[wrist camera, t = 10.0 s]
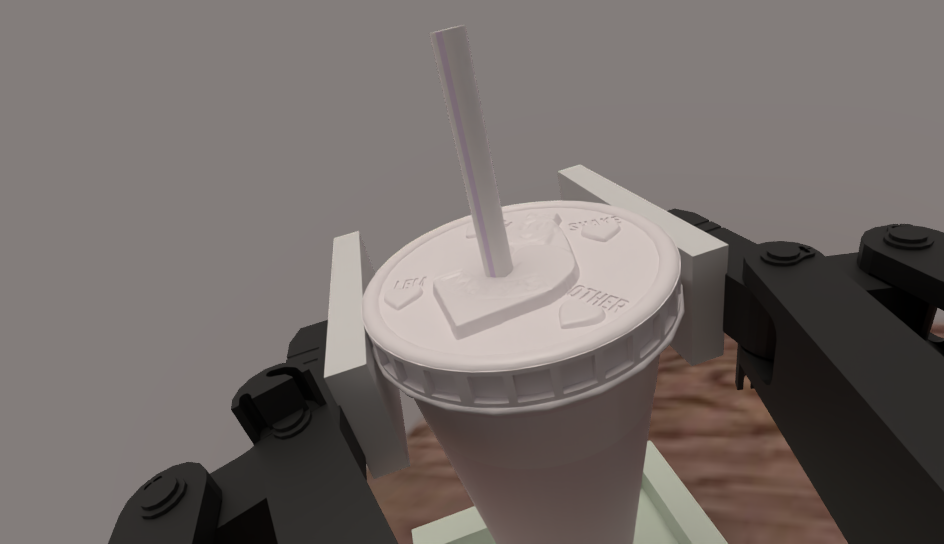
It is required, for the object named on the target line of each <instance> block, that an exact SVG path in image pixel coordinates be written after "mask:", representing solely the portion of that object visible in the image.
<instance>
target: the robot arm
mask: <svg viewBox="0 0 944 544" xmlns="http://www.w3.org/2000/svg"><path fill="white" fill-rule="evenodd" d="M558 179H559V186H560V193H561V200H562V201H584V202H593V203H602V204H606V205H611V206H615V207H620V208H624V209H626V210H629V211H632V212H634V213H637V214H639V215H642V216H644V217H646V218H647V219H649V220H650V221H652V222H654V223H655V224H657V225H659V226H660V227H661V228H662V229H663V230H664V231H666V232H667V233H668V234H669V236H670V237H671V238H672V239H673V240H674V242H675V244H676V246H677V248H678V251H679V254H680V259H681V284H682V285H683V296H684V311H685V313H684V315H683V318H682V320H681V322H680V325H679V327H678V329H677V331H676V334H675V336H674V338H673V341H672V342H671V343H670V344H669V345H670V346H671V347H672V348H673V349H674V350H676V351H677V352H678V353H679V354H680V355H681V356H682V357H683V358H684V359H685V360H686V361H687V362H688V363H689V364H690V365H691V366H693V365H696V364H699V363H702V362H705V361H707V360H710V359H713V358H716V357H719V356H722V355H723V350H724V332H725V333H726V334H727V335H728V336H730V337H731V338H732V339H734V340H735V341H736V342H737V343H738V349H737V364H736V380H735V383H736V387H737V390H742V389H743V382H744V377H745V375H747V377H748V379H749V380H750V382H751V386H750V387H751V389H753V388H755V390H756V392H757V393H758V395H759V397H760V398H761V400H762V402H763V403H764V405H765V407H766V408H767V410H768V412H769V413H770V415H771V417H772V418H773V420H774V422H775V423H776V425H777V426H778V428H779V430H780V431H781V433H782V435H783V436H784V438H785V440H786V441H787V443H788V445H789V446H790V448H791V450H792V451H793V453H794V455H795V456H796V458H797V460H798V461H799V463H800V464H801V466H802V468H803V469H804V471H805V473H806V474H807V476H808V478H809V479H810V481H811V483H812V484H813V486H814V488H815V489H816V491H817V493H818V494H819V496H820V498H821V499H822V501H823V502H824V504H825V506H826V507H827V509H828V511H829V512H830V514H831V516H832V517H833V519H834V521H835V522H836V524H837V526H838V527H839V529H840V531H841V532H842V534H843V536H844V537H845V539H846V540H847V542H848V544H944V339H943V338H941V337H938V336H936V335H934V334H932V333H930V330H931V327H932V324H933V320H934V317H935V314H936V311H937V308H940V309H941V310H943V311H944V233H943V232H940V231H937V230H933V229H929V228H925V227H919V226H913V225H910V224H900V225H898V224H892V225H887V226H881V227H875V228H873V229H870V230H868V231H866V232H865V233H864V234H863V236H862V238H861V242H860V247H859V252H858V253H849V254H841V255H834V256H826V257H825V256H824V255H823V254H822V253H820V252H819V251H817V250H815V249H814V248H812V247H810V246H807V245H803V244H800V243H795V242H784V241H777V242H765V243H761V244H756V243H754V242H751V241H750V240H748V239H746V238H744V237H742V236H740V235H738V234H736V233H733V232H732V231H730V230H728V229H726V228H721V226H720V225H718V224H716V223H714V222H709V220H708V219H706V218H704V217H701V216H700V215H698V214H696V213H693V212H688V211H683V210H679V209H672V210H669V211H665V210H663V209H661V208H660V207H658V206H656V205H654V204H652V203H650V202H649V201H647V200H645V199H643V198H641V197H639V196H637V195H636V194H634V193H632V192H630V191H628V190H626V189H624V188H623V187H621V186H619V185H617V184H615V183H613V182H611V181H610V180H608V179H606V178H604V177H602V176H600V175H599V174H597V173H595V172H593V171H591V170H589V169H587V168H586V167H584V166H581V165H577V166H574V167H570V168H567V169H564V170H560V171H558ZM374 275H375V273H374V270H373V267H372V265H371V262H370V259H369V256H368V254H367V251H366V248H365V246H364V243H363V240H362V238H361V235H360V232H359V231H356V232H353V233H350V234H346V235H343V236H340V237H336V238H334V245H333V258H332V272H331V286H330V300H329V315H328V320H326V321H323V322H320V323H317V324H314V325H310V326H307V327H304V328H301V329H300V330H299V331H298V333H297V334H296V336H295V337H294V338H293V339H292V341H291V342H290V344H289V350H288V354H287V359H288V360H286V363H282V364H278V365H275V366H273V367H270V368H267V369H265V370H263V371H262V372H260V373H258V374H257V375H255V376H254V377H252V378H251V379H249V380H248V381H247V382H246V383H245V384H244V385H243V386H242V387H241V388H240V389H239V390H238V392H237V394H236V395H235V396H234V398H233V400H232V406H231V410H232V412H233V413H234V415H235V416H236V418H237V419H238V421H239V422H240V424H241V426H242V427H243V429H244V430H245V432H246V433H247V435H248V436H249V438H250V439H251V441H252V442H253V444H254V446H253V447H252V448H251V449H250V450H249V451H247V452H246V453H244V454H243V455H241V456H240V457H238V458H237V459H235V460H233V461H231V462H229V463H228V464H226V465H224V466H223V467H221V468H219V469H217V470H216V471H214V472H212V473H211V474H209V473H208V472H207V470H206V469H205V468H204V467H203V466H202V465H201V464H200V463H193V462H186V463H183V464H179V465H175V466H172V467H170V468H169V469H167V470H164V471H163V472H161V473H159V474H157V475H156V476H154V477H153V478H152V479H151V480H148V481H147V482H146V483H145V484H144V485H143V486H141V487H140V488H139V489H138V491H136V493H135V494H134V495H133V496H132V497H131V498H130V499H129V500H128V502H127V503H126V505H125V507H124V508H123V510H122V512H121V513H120V515H119V518H118V520H117V523H116V525H115V528H114V530H113V533H112V535H111V538H110V540H109V543H108V544H398V542H397V540H396V538H395V536H394V534H393V532H392V531H391V529H390V527H389V525H388V523H387V521H386V519H385V517H384V515H383V513H382V511H381V509H380V507H379V505H378V503H377V501H376V499H375V497H374V495H373V493H372V491H371V489H370V487H369V485H368V483H367V476H366V464H367V466H368V468H369V470H370V472H371V474H372V476H373V478H374V479H375V478H378V477H381V476H384V475H386V474H389V473H392V472H395V471H398V470H401V469H403V468H406V467H409V466H410V461H409V454H408V447H407V440H406V433H405V426H404V420H403V413H402V406H401V399H400V392H399V388H398V387H396V386H395V385H394V384H393V383H391V382H390V381H389V380H388V379H386V378H385V377H384V376H383V374H382V372H381V370H380V368H379V366H378V364H377V362H376V360H375V358H374V355H373V347H372V343H371V340H370V338H369V335H368V333H367V331H366V329H365V326H364V323H363V320H362V315H361V305H362V300H363V296H364V293H365V291H366V288H367V286H368V284H369V283H370V281H371V280H372V278H373V277H374Z"/></svg>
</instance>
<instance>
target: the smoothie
mask: <svg viewBox="0 0 944 544" xmlns="http://www.w3.org/2000/svg"><path fill="white" fill-rule="evenodd" d="M429 35H430V39H431V43H432V48H433V51H434V56H435V60H436V65H437V69H438V73H439V78H440V82H441V86H442V91H443V95H444V99H445V103H446V108H447V112H448V116H449V121H450V124H451V129H452V133H453V138H454V142H455V146H456V151H457V155H458V159H459V163H460V167H461V172H462V176H463V180H464V185H465V189H466V194H467V198H468V202H469V206H470V211H471V215H469V216H466V217H463V218H461V219H458V220H455V221H452V222H450V223H447V224H444V225H442V226H440V227H438V228H436V229H434V230H432V231H430V232H428V233H425V234H424V235H422V236H421V237H419V238H417V239H416V240H414V241H412V242H410V243H409V244H407V245H406V246H404V247H403V248H402V249H401V250H399V251H398V252H397V253H396V254H394V255H393V256H391V257H390V258H389V259H388V260H387V261H386V262H385V263H384V265H383V266H382V267H381V268H380V269H379V270H378V271H377V272H376V274H375V275H374V277H373V278H372V280H371V281H370V283H369V284H368V286H367V288H366V291H365V293H364V296H363V300H362V305H361V315H362V320H363V323H364V326H365V329H366V331H367V333H368V335H369V338H370V340H371V343H372V347H373V355H374V358H375V360H376V362H377V364H378V366H379V368H380V370H381V372H382V374H383V376H384V377H385V378H386V379H388V380H389V381H390V382H391V383H393V384H394V385H395V386H396V387H398V388H399V389H400V390H402V391H403V392H404V393H405V394H406V395H408V396H409V397H411V398H414V399H415V401H416V403H417V405H418V407H419V409H420V411H421V412H422V414H423V416H424V418H425V420H426V422H427V423H428V425H429V427H430V429H431V430H432V431H433V433H434V435H435V436H436V438H437V440H438V442H439V443H440V445H441V447H442V449H443V450H444V452H445V454H446V456H447V458H448V459H449V461H450V463H451V465H452V466H453V468H454V470H455V472H456V473H457V475H458V477H459V479H460V481H461V482H462V484H463V486H464V488H465V489H466V491H467V493H468V495H469V496H470V498H471V500H472V502H473V503H474V505H475V507H476V509H477V511H478V512H479V514H480V516H481V518H482V519H483V521H484V523H485V525H486V526H487V528H488V530H489V532H490V534H491V535H492V537H493V539H494V541H495V542H496V544H633V540H634V533H635V526H636V518H637V511H638V504H639V497H640V490H641V483H642V476H643V469H644V462H645V455H646V448H647V441H648V433H649V426H650V419H651V412H652V405H653V398H654V393H655V389H656V382H657V374H658V365H659V356H660V354H661V353H662V352H663V350H664V349H665V348H666V347H667V346H668V345H669V344H670V343H671V342H672V341H673V338H674V336H675V334H676V331H677V329H678V327H679V325H680V322H681V320H682V318H683V315H684V313H685V311H684V296H683V285H682V284H681V259H680V254H679V251H678V248H677V246H676V244H675V242H674V240H673V239H672V238H671V237H670V236H669V234H668V233H667V232H666V231H664V230H663V229H662V228H661V227H660V226H659V225H657V224H655V223H654V222H652V221H650V220H649V219H647V218H646V217H644V216H642V215H639V214H637V213H634V212H632V211H629V210H626V209H624V208H620V207H615V206H611V205H606V204H602V203H593V202H584V201H541V202H530V203H522V204H515V205H509V206H504V207H501V203H500V198H499V193H498V188H497V183H496V178H495V173H494V168H493V163H492V158H491V152H490V147H489V143H488V137H487V132H486V127H485V123H484V117H483V112H482V107H481V102H480V97H479V92H478V87H477V82H476V77H475V72H474V67H473V62H472V56H471V51H470V46H469V41H468V36H467V31H466V26H465V25H461V26H456V27H452V28H448V29H444V30H440V31H436V32H432V33H430V34H429Z"/></svg>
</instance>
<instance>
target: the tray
mask: <svg viewBox="0 0 944 544" xmlns="http://www.w3.org/2000/svg"><path fill="white" fill-rule="evenodd" d="M412 537H413V544H496V542H495V541H494V539H493V537H492V535H491V534H490V532H489V530H488V528H487V526H486V525H485V523H484V521H483V519H482V518H481V516H480V514H479V512H478V511H477V509H476V507H475V506H474V507H471V508H469V509H466V510H463V511H461V512H458V513H455V514H453V515H450V516H447V517H445V518H442V519H439V520H436V521H434V522H431V523H428V524H426V525H423V526H420V527H418V528H415V529H412ZM633 544H728V543H727V542H726V540H725V539H724V538H723V536H722V535H721V534H720V532H719V531H718V530H717V528H716V527H715V526H714V524H713V523H712V522H711V520H710V519H709V518H708V516H707V515H706V514H705V512H704V511H703V510H702V508H701V507H700V506H699V504H698V503H697V502H696V500H695V499H694V498H693V496H692V495H691V494H690V492H689V491H688V490H687V488H686V487H685V486H684V484H683V483H682V482H681V480H680V479H679V478H678V476H677V475H676V474H675V472H674V471H673V470H672V468H671V467H670V466H669V464H668V463H667V462H666V460H665V459H664V458H663V456H662V455H661V454H660V452H659V451H658V450H657V448H656V447H655V446H654V444H653V443H652V442H651V440H650V441H647V448H646V455H645V462H644V469H643V476H642V483H641V490H640V497H639V504H638V511H637V518H636V526H635V533H634V540H633Z"/></svg>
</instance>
